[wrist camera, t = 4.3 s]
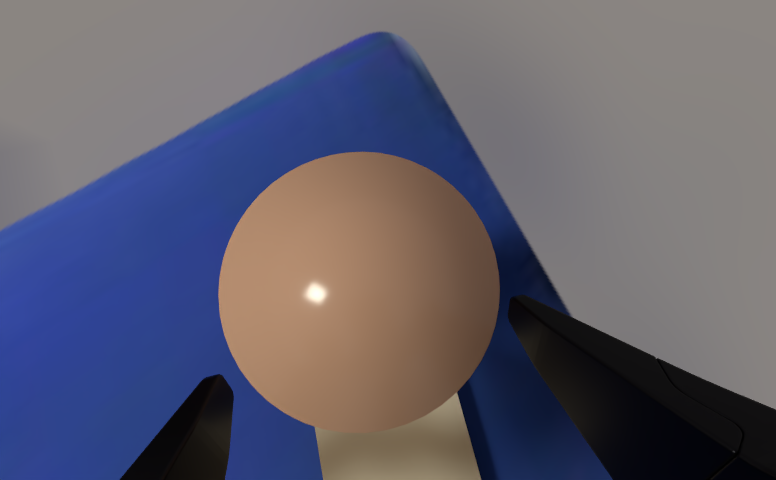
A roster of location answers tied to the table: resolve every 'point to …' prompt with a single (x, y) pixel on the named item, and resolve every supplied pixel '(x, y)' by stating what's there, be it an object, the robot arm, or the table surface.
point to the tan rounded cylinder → (359, 292)
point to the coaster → (403, 450)
